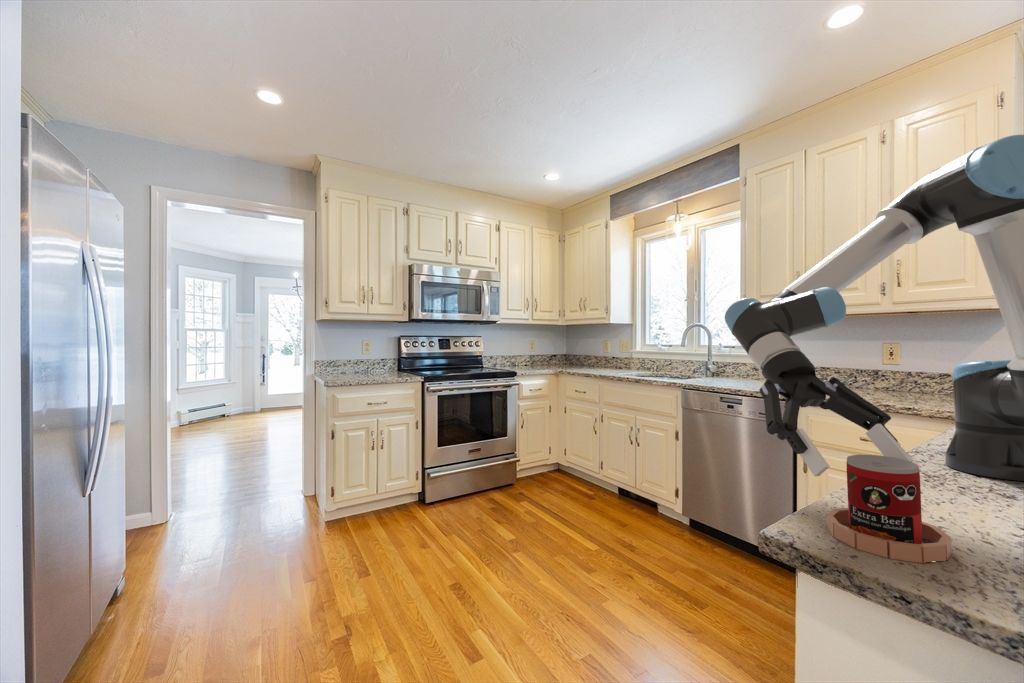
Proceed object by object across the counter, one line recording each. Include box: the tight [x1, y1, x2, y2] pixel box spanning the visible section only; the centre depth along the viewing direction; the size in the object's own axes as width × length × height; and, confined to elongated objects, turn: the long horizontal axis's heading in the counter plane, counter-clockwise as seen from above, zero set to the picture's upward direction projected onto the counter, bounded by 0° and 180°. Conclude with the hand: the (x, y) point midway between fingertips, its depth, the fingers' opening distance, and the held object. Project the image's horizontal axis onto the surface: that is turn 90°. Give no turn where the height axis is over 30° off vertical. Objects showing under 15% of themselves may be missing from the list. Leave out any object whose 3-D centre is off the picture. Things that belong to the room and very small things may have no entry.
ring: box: [826, 507, 952, 564], centre depth 58 cm, size 13×13×2 cm
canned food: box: [845, 454, 923, 544], centre depth 58 cm, size 8×8×11 cm
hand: (864, 468), depth 60 cm, fingers open, 13 cm apart
